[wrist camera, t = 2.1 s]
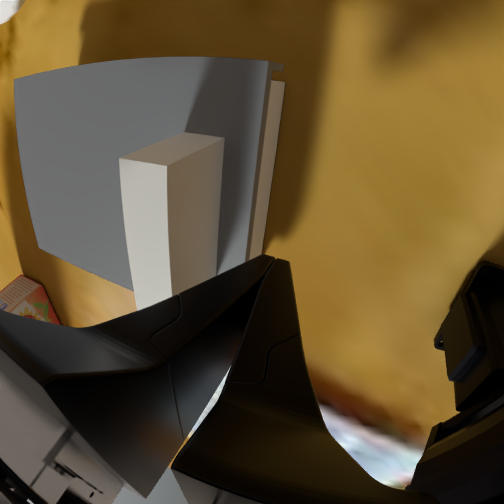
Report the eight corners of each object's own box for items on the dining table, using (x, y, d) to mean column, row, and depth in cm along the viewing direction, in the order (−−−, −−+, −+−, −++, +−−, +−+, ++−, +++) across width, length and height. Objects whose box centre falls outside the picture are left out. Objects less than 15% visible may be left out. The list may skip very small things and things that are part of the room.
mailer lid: (283, 64, 10) (219, 53, 5) (251, 304, 16) (206, 386, 12) (39, 73, 13) (-36, 94, 9) (58, 234, 20) (3, 274, 15)
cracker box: (20, 271, 32) (-85, 371, 15) (44, 283, 30) (-72, 399, 13) (56, 346, 39) (-22, 437, 23) (82, 361, 38) (-1, 463, 21)
